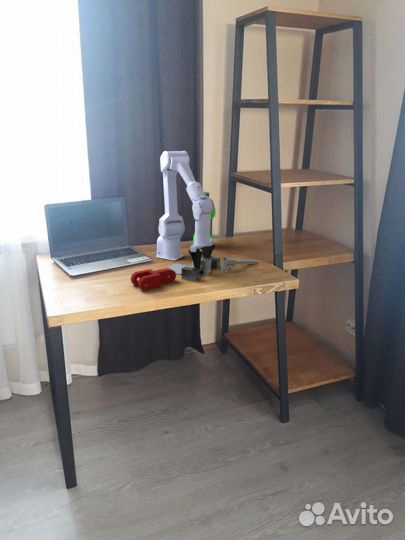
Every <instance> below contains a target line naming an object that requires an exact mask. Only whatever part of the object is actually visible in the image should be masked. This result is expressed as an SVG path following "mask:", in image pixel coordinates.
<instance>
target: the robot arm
mask: <svg viewBox="0 0 405 540" xmlns="http://www.w3.org/2000/svg"><path fill="white" fill-rule="evenodd" d="M159 161H160V173H162V177H163V181H162V182H163V183H162V184H163V196H164V198H163V199H164V214H163V215H162V216H161V217H160V218H159V219H158V220H159V221H158V222H159V223H158V234H159V236H158V237H157V240H156V255H155V258H159V259H165V260H169V261H172V262H173V261H177V260H179V259H181V258H183V257H184V256H185V255H184V254H181V238H182V237H183V235H184V232H185V230H186V227H185V224H184V223H185V222H184V218H183V216H181V215H180V214H179V213H178V211H179V210H178V195H177V193H178V191H177V190H178V189H177V175H178V174H179V175H180V176H181V178H182V179H183V181H184V182H185V184H186V189H185V191H186V193H187V194H188V196H189V198H190V201H191V202H192V206H191V208H192V210H191V211H192V214H193V213H194V216H193V219H194V221H195V222H194V234H195V242H193V243H192V244H191V245H190V249H188V254H189V256H190V257H191V262H192V261H193V265H194V268H198V269H199V268H200V264H201V258H202V257H203V258H208V259H210V257H211V256H212V254H213V252H214V249H215V248H216V244H214V242H213V238H210V222H211V213H213V211H214V206H215V202H214V200H213V199H212V198H211V197H210V196H209V197H208V196H206V194H205V192H206V191H204V189H203V187H202V185H201V183H200V182H198V181H196V179H195V176H194V174H193V171H192V169H191V167H190V161H191V159H190V156H189V154H188V152H187V151H186V150H182V151H181V150H179V151H178V150H176V151H168V150H165V151H163V152H162V154H161V155H160V159H159ZM212 243H213V244H212ZM201 248H202V249H201ZM200 249H201V250H200Z"/></svg>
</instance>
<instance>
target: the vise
mask: <svg viewBox="0 0 405 540" xmlns="http://www.w3.org/2000/svg"><path fill="white" fill-rule="evenodd" d="M210 259H211V269H219V268H221V257H220V256H216V255H215V256H214V255H211V257H210ZM187 266H188V265H186V266H185V267H183V268H182V274H181V275H180V276H181V278H180V279H182V280H186V281H191V282H197V281H199V280H200V276H201V275H203V266H200V268H199V269H198V268H192V266H191V267H187Z"/></svg>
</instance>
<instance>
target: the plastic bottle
mask: <svg viewBox="0 0 405 540" xmlns="http://www.w3.org/2000/svg"><path fill="white" fill-rule="evenodd" d="M204 192H205V194H206V196H208V197H209V198H210V192H208V191H204ZM192 216H193V217H194V213H193V212H192ZM215 216H216V207H215V205H214V211H213V213H211V222H210V238H213V243H212V244H214V243H215V242H214V241H215V237H214V234H213V219H214V218H215ZM192 238H193V239H192V240H193V241H192V242H193V243H194V242H195V233H193V236H192Z"/></svg>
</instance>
